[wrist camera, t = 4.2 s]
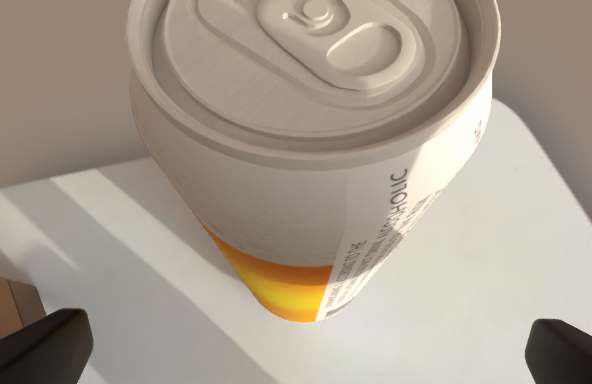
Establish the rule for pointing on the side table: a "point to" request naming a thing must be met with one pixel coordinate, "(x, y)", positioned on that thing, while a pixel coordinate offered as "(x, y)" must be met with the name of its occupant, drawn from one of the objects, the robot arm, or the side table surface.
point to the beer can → (310, 127)
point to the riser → (18, 306)
